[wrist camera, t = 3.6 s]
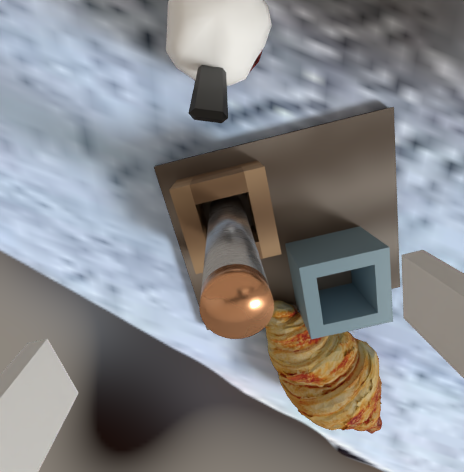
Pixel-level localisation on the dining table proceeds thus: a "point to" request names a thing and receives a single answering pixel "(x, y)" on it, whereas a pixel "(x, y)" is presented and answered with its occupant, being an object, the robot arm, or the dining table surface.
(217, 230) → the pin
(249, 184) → the mount
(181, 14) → the cocoa
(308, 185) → the board
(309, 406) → the croissant
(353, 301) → the socket
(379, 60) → the dining table surface
